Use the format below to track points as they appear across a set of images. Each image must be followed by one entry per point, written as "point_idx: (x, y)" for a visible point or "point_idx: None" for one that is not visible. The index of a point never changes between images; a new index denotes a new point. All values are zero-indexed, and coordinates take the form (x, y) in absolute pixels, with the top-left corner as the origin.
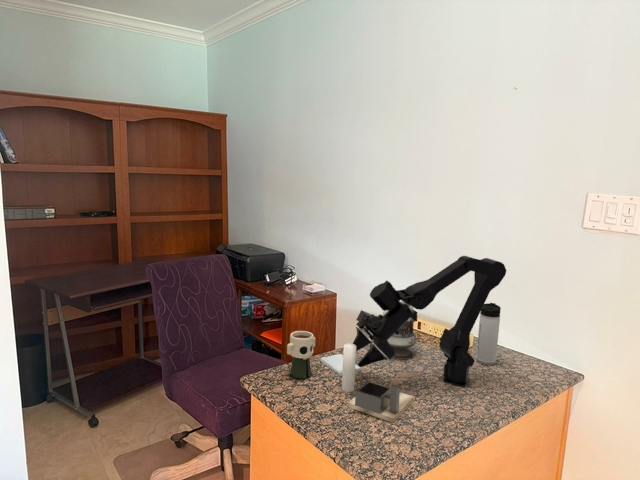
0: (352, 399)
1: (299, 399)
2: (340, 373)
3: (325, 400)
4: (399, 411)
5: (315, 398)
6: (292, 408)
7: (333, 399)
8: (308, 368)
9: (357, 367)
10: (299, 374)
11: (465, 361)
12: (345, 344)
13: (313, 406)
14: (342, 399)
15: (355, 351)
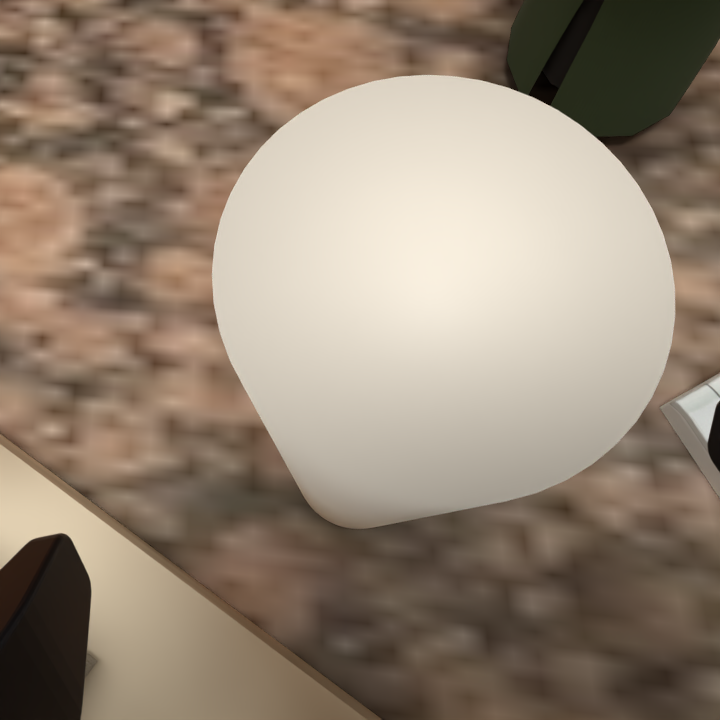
0: (32, 473)
1: (164, 56)
2: (674, 408)
3: (136, 243)
4: None
5: (176, 167)
6: (25, 9)
7: (150, 310)
8: (583, 57)
9: None
10: (520, 22)
11: None
12: (558, 139)
13: (40, 147)
14: (146, 391)
15: (320, 481)
